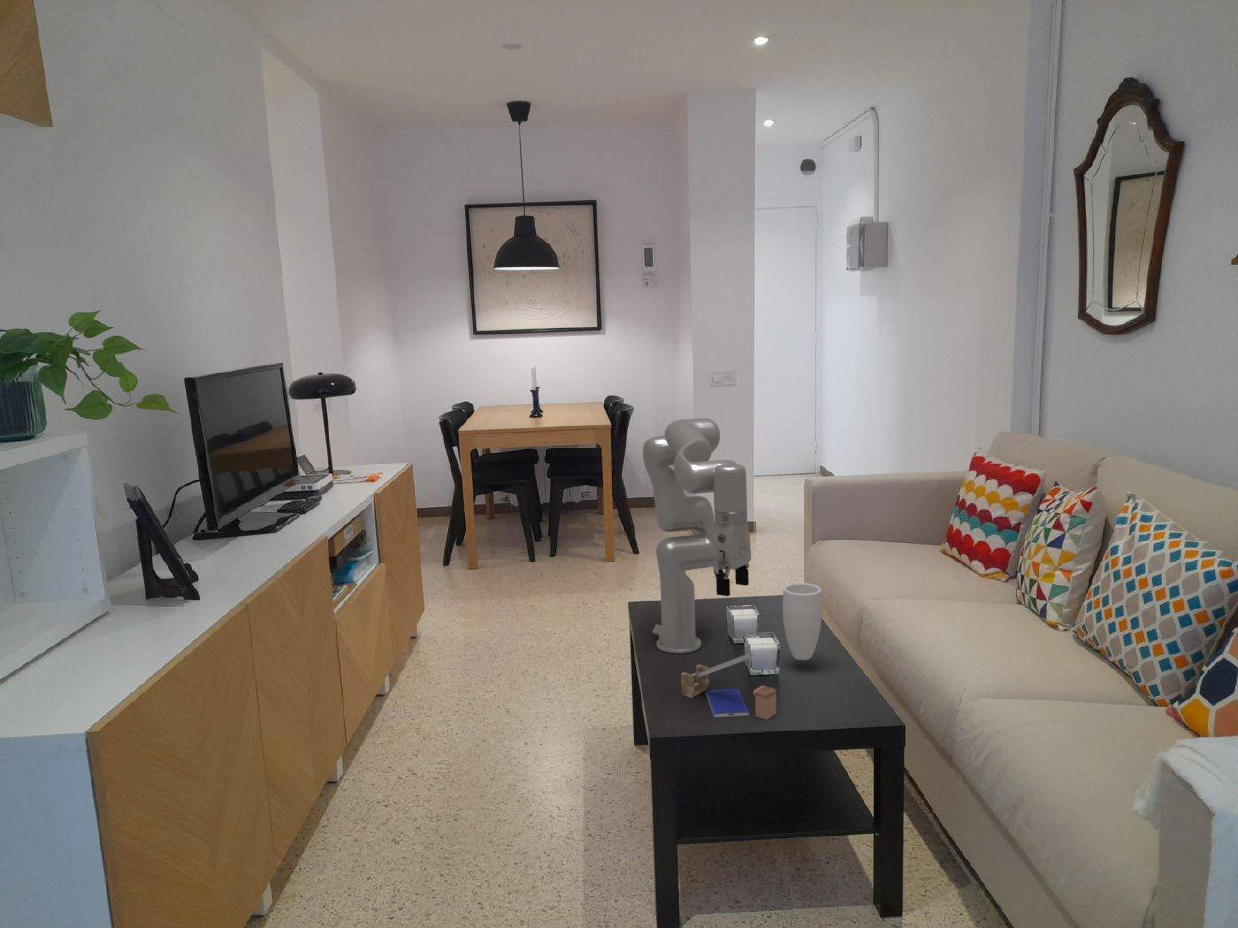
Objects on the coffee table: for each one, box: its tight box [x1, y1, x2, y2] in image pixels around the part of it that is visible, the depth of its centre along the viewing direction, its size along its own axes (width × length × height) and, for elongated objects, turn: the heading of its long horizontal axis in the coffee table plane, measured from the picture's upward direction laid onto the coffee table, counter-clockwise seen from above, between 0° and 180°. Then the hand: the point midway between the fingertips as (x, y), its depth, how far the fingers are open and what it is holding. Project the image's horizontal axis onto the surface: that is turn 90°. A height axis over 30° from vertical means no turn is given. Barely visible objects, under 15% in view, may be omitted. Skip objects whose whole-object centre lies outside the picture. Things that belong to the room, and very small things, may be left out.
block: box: [752, 685, 777, 721], centre depth 193 cm, size 4×4×6 cm
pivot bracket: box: [680, 663, 710, 699], centre depth 206 cm, size 3×7×6 cm, turn 137°
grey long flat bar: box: [692, 652, 754, 681], centre depth 200 cm, size 19×4×1 cm, turn 48°
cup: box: [782, 582, 823, 661], centre depth 217 cm, size 10×10×22 cm
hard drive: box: [705, 688, 750, 718], centre depth 199 cm, size 2×8×12 cm
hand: (732, 589), depth 195 cm, fingers open, 9 cm apart
